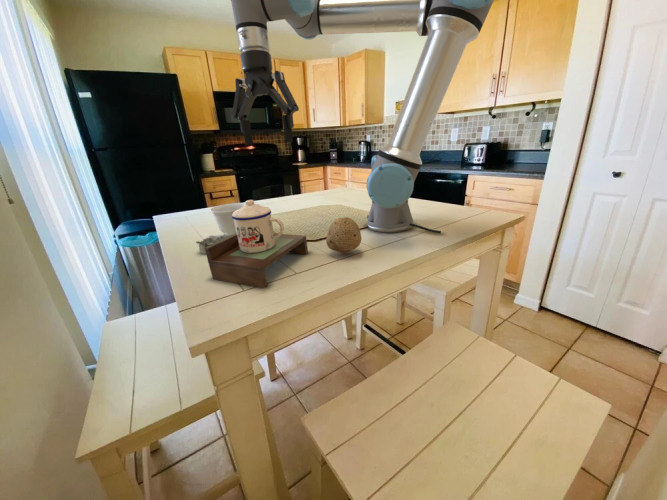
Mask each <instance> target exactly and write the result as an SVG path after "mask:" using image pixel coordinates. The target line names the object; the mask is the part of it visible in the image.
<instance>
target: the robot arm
mask: <svg viewBox="0 0 667 500" xmlns="http://www.w3.org/2000/svg"><path fill="white" fill-rule="evenodd" d="M230 2H231V8H232V13H233V18H234V25H235V31H236V37H237V43H238V49H239V51H240V55H239V56H240V63H241V68H242V71H243V73H244V78H235V79H234V80H235V93H234V100H233V107H232V113H231V118H233V119H236V120H238V121H239V127H240V132H241V133H242V134H243V139H244V145H245V146H251V145H252V146H253V145H254V139H253V133H252V126H251V122H250V120H249V118H248V117H249V115H250V112H251V109H252V107H253V104H254V102H255V99H257V97H262V96H270V98H271V99H272V100H273V101H274V102H275V104H276V105H277V106H278V107H279V109H281V111H282V112H283V114H282V115H281V117H282V124H283V133H284V142H285V143H292V142H294V136H293V129H294V127H295V126H294V125H295V124H294V117H293V116H294V113H296V112H299V110H300V108H299V106H298V103H297V102H296V100H295V98H294V96H293V94H292V92H291V90H290V88H289V87H288V84H287V82H286V78H285V74H284V72H282V71H280V70H275V71H274V72H273V61H272V55H271V54H270V51H271V45H270V39H269V31H268V22H275V21H282V20H284V21H286V23H287V24H288V25H289V26H290V27H291V28H292V29H293V30H294V32H295V33H296V34H297V35H298V36H299V37H300V38H303V39H304V40H308V41H309V40H313V39H315V38H316V37H317V36H321V35H323V36H324V35H346V34H348V35H349V34H351V35H352V34H375V33H376V34H377V33H404V32H405V33H409V32H410V33H411V32H415V33H416V34H417V35H418V36H419V37H426V40H425V42H424V46H423V48H422V50H421V52H420V56H419V59H418V61H417V64H416V67H415V69H414V72H413V75H412V77H411V80H410V83H409V85H408V88H407V91H406V93H405V96H404V99H403V101H402V104H401V107H400V109H399V113H398V115H397V117H396V121H395V123H394V126H393V128H392V131H391V135H390V136H389V139H388V142H387V144H385V145H383V146H381V147H380V148H379V149H378V152H377V154H375V155H373V156H372V157H371V163H370V167H371V172H370V173H369V175H368V177H367V179H366V191H367V195H368V196H369V198H370V200H371V205H370V206H371V207H370V209H369V213H368V215H367V216H366V219H367V220H366V227H367V228H368V229H369V230H371V231H374V232H377V233H386V234H387V233H389V234H391V233H392V234H393V233H402V232H406V231H409V230H410V229H412V228H413V227H414V228H417V229H420V230H422V231H425V232H429V233H435V234H441V233H442V231H441V230H438V229H437V230H436V229H431V228H428V227H425V226H421V225H418V224H415V223H414V218H413V215H412V212H411V209H410V206H409V205H410V204H409V199H410V198H411V196H412V194H413V191H414V188H415V181H416V179H417V176H418V174H419V172H420V169H421V167H422V165H423V161H422V158H421V153H422V152H421V151H422V149H423V148H424V145H425V143H426V140H427V139H428V135H429V134H430V132H431V128H432V126H433V124H434V122H435V119H436V117H437V114H439V113H438V112H439V110H440V109H441V105H442V103H443V100H444V99H445V96H446V93H447V91H448V90H449V87H450V85H451V82H452V80H453V77H454V75H455V73H456V71H457V68H458V66H459V63H460V61H461V58H462V57H463V54H464V52H465V49H466V47H467V46H468V44H470V43H471V42H473V41H475V40H477V38H478V37H479V35H480V32H481V30H482V28H483V26H484V25H485V21H486V19H487V17H488V14H489V13H490V10H491V7H492V5H493V3H494V2H495V0H230ZM274 82H275V83H276V85H277V87H278V89H279V91H280V92H281V94H282V96H281V95H280V93H279V92H278V90H277V89H276V87H275V86H274Z"/></svg>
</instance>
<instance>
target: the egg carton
mask: <svg viewBox="0 0 667 500" xmlns="http://www.w3.org/2000/svg"><path fill="white" fill-rule="evenodd" d="M231 235H233V234H231ZM231 235H226V234H222V235H209V236H206V237H205V238H203V240H201V241H199V240H197V241H195V243H196V244H197V245H198V248H199V253H200V254H203V255H206V252H205V247H208V246H210V245H212V244H214V243H216V242H218V241H221V240H223V239H225V238H227V237H229V236H231Z"/></svg>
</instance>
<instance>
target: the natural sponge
mask: <svg viewBox="0 0 667 500" xmlns="http://www.w3.org/2000/svg"><path fill="white" fill-rule="evenodd" d="M325 242H326V246H327V248H329V249H330V250H332V251H335V252H337V253H339V254H343V255H344V254H345V255H346V254H348V253H350V252H352V251H353V250H355V249H357V248H358V247H359V246H360V244H361V243H362V233H361V229H360V227H359V225H358V223H357V222H356V221H355V220H353V219H352V218H350V217H348V216H343V217H338V218H335V220H334V221H332V222H331V224H330V225H329V229H328V231H327V234H326V239H325Z"/></svg>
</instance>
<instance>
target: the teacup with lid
mask: <svg viewBox="0 0 667 500" xmlns="http://www.w3.org/2000/svg"><path fill="white" fill-rule="evenodd" d="M244 203H245V204H246V205H244V206H242V207H241V208H240V209H239V210H236V211H235V212H233V214H232V218H233V219H234V223H235V228H236V233H237V237H238V242H239V247H240V250H241V251H243V252H246V253H257V252H262V251H266V250H268V249H270V248H272V247H273V246H274V245H275V238H278V237H280V236H281V235H282V234H284V230H285V224H284V222H283V221H282V220H281V219H280V218H278V217H272V210H271V208H270V207H268V206H265V205H260V204H258V203H255V201H254V199H248V200H246V201H245V202H244ZM273 222H275V223H277V224H278V225H279V232H278V233H277V234H276V235H274V233H275V232H274V226H273Z"/></svg>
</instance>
